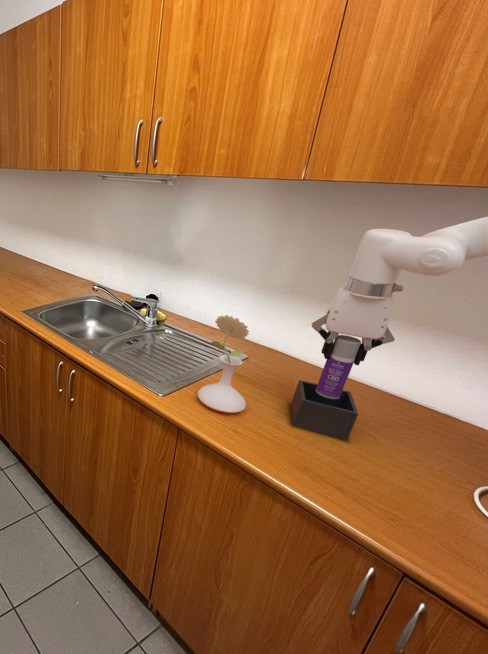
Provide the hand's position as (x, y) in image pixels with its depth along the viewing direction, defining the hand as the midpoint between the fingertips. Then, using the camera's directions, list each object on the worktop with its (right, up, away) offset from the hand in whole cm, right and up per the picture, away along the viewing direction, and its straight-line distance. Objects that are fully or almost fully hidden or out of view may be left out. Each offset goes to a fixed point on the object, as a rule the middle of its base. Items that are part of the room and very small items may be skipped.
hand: (340, 358), depth 93 cm
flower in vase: (-20, -14, +15) cm, 29 cm away
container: (0, -9, +4) cm, 10 cm away
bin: (0, -17, +7) cm, 18 cm away
